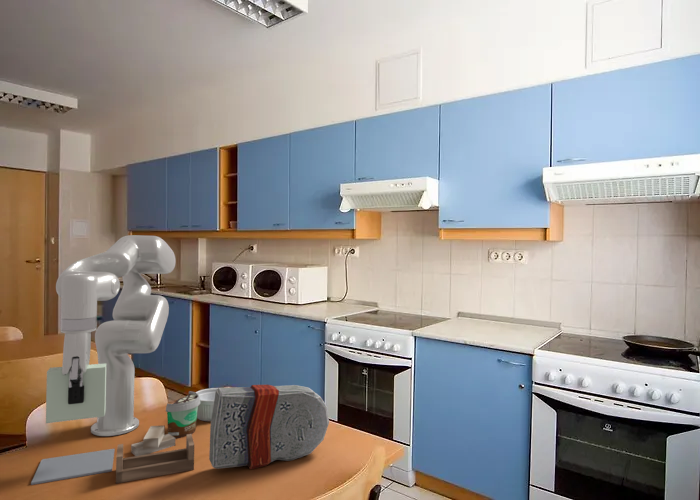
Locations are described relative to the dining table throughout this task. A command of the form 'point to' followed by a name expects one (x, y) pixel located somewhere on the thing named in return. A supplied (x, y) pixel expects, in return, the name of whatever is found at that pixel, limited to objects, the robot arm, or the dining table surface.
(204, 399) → the ramekin
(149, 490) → the dining table surface
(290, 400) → the decorative stone tablet
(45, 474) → the mat
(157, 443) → the upper offcut
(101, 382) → the sheet
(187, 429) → the food container
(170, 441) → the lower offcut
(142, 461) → the rack
